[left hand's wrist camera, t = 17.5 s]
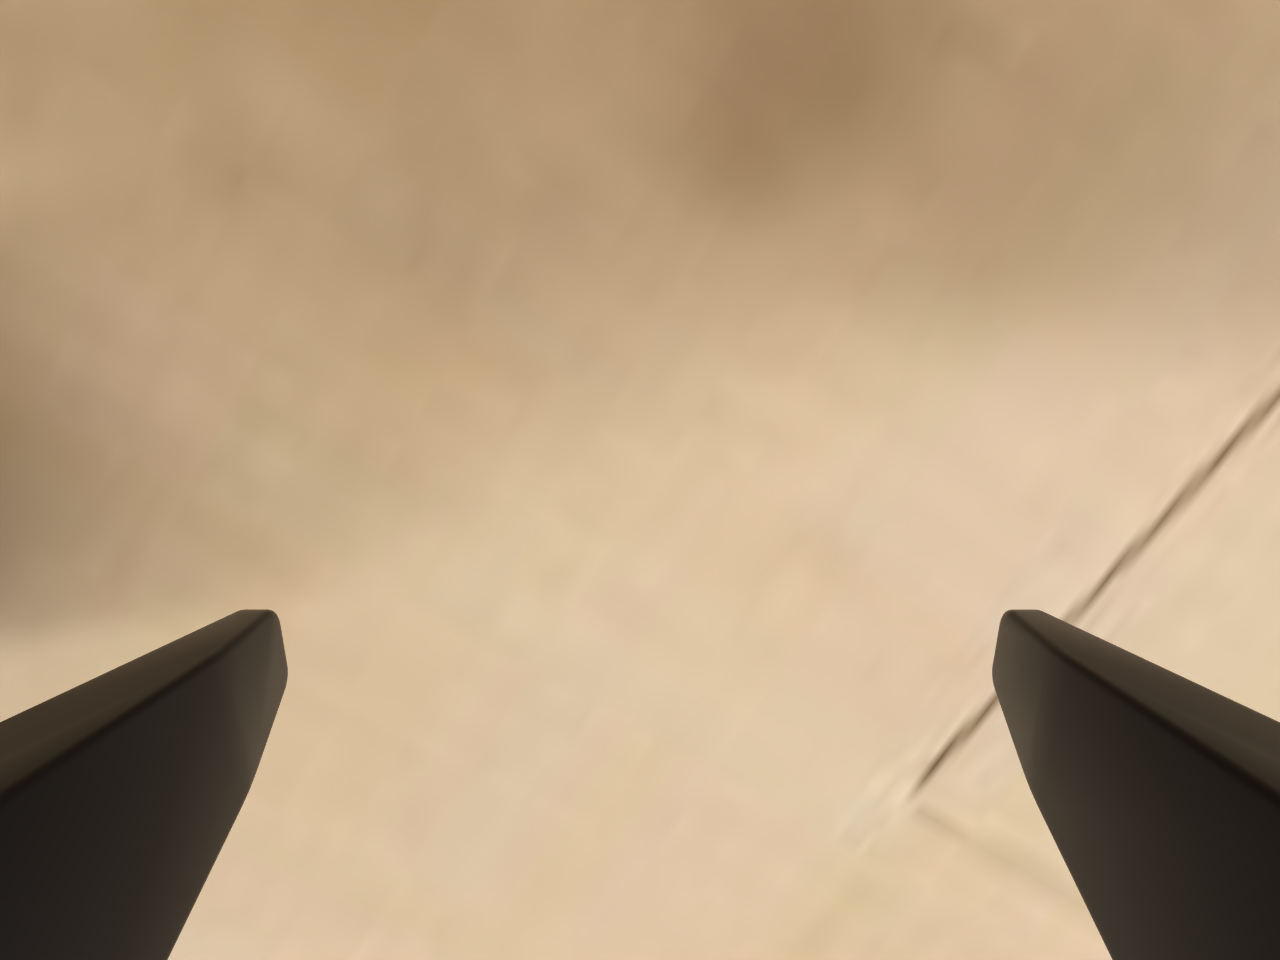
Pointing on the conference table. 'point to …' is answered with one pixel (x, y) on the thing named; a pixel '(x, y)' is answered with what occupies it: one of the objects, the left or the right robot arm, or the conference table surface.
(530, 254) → the conference table surface
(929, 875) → the conference table surface
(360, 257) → the conference table surface
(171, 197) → the conference table surface
